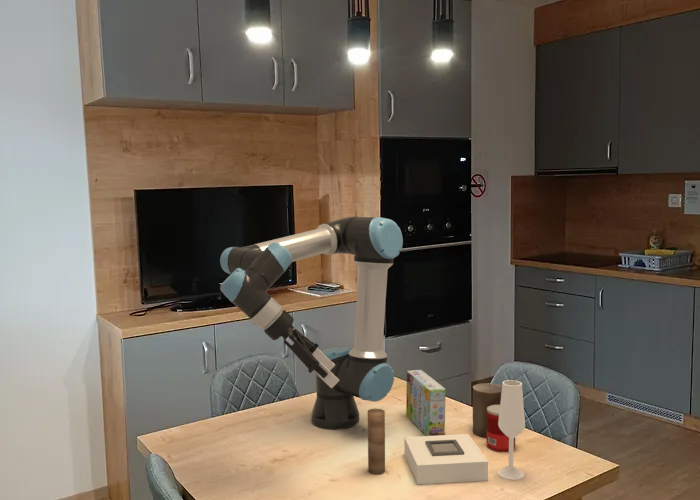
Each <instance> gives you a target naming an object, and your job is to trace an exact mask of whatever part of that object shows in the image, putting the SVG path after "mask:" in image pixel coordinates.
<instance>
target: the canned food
mask: <svg viewBox="0 0 700 500" xmlns="http://www.w3.org/2000/svg"><path fill="white" fill-rule="evenodd" d="M499 411H500V405H491V406H489V407H487V437H485V438H486V439H485V440H486V441H485V442H486V446H487V448H488V449H490V450H492V451H494V452H502V453H506V452H509V437H507V436H506V435H505V434H504V433H503V432H502V431H501V429H500V428H499V426H498V420H499ZM515 447H516V437H515V438H514V448H515Z"/></svg>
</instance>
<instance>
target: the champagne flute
mask: <svg viewBox="0 0 700 500" xmlns="http://www.w3.org/2000/svg"><path fill="white" fill-rule="evenodd" d="M523 393H524V392H523V383H522V382H521V381H519V380H514V379H513V380H511V379H510V380H509V379H508V380H503V381H502V393H501V402H500V411H499V420H498V426H499V428H500V429H501V431H502V432H503V433H504V434H505V435H506V436H507V437H509V451H508V466H505V467H503V468H500V469H499V470H498V471H497V475H498V476H499V477H501V478H503V479H505V480H511V481H512V480H514V481H516V480H521V479H523V478H524V477H525V473H524V472H523V471H522V470H520V469H518V468H516V467H514V449H515V447H514V438H515V439H516V438H517V437H518V436H519V435H521V434H522V433H523V431H524V430H525V428H526V418H525V407H524V406H525V405H524V395H523Z"/></svg>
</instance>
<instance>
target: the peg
mask: <svg viewBox="0 0 700 500" xmlns="http://www.w3.org/2000/svg"><path fill="white" fill-rule="evenodd" d="M385 415H386V411H385V410H384V409H381V408H371V409H368V410H367V461H368V462H367V467H368V468H367V470H368V473H369V474H371V475H382V474H384V473H386V427H385V426H386V424H385V423H386V420H385V419H386V418H385V417H386V416H385Z"/></svg>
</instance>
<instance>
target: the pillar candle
mask: <svg viewBox="0 0 700 500" xmlns="http://www.w3.org/2000/svg"><path fill="white" fill-rule="evenodd" d="M501 393H502V385H501V384H497V383H491V382H490V383H489V382H487V383H484V382H483V383H478V384H474V385H473V386H472V432H473V434H475V435H476V436H479V437H483V438H486V437H487V407H489V406H491V405H500V402H501Z"/></svg>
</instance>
